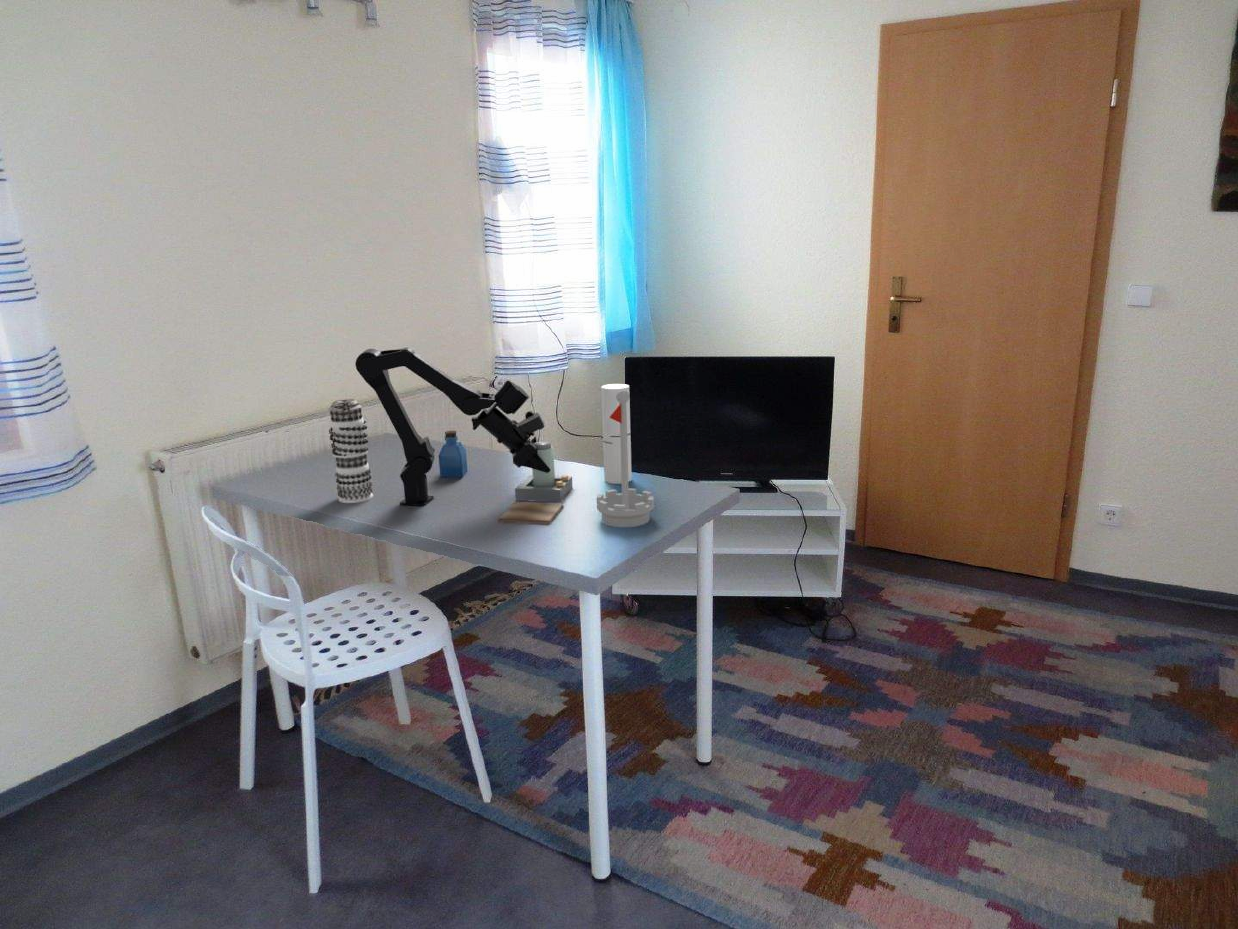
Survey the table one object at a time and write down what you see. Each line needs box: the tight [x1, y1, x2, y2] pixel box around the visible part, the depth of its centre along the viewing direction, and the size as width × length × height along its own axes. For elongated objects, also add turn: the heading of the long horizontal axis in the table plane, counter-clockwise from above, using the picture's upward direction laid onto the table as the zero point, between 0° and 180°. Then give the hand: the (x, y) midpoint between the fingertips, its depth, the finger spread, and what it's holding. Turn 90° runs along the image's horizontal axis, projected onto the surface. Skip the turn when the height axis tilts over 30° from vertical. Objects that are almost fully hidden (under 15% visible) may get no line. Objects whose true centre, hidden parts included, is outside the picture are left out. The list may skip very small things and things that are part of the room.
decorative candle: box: [327, 398, 374, 504], centre depth 213 cm, size 9×9×25 cm
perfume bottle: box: [438, 430, 468, 479], centre depth 233 cm, size 6×6×12 cm
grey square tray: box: [514, 474, 573, 503], centre depth 215 cm, size 12×12×4 cm
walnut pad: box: [498, 501, 564, 525], centre depth 200 cm, size 12×12×1 cm
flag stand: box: [596, 390, 655, 528], centre depth 191 cm, size 13×13×30 cm
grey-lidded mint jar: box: [531, 441, 556, 487], centre depth 213 cm, size 6×6×13 cm
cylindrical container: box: [601, 383, 632, 485], centre depth 222 cm, size 7×7×25 cm
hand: (548, 468), depth 213 cm, fingers closed on grey-lidded mint jar, 5 cm apart
